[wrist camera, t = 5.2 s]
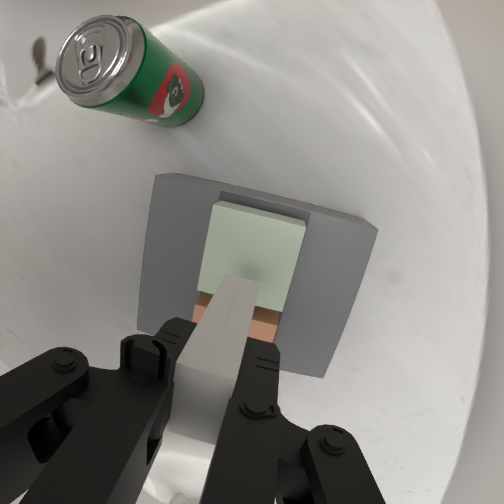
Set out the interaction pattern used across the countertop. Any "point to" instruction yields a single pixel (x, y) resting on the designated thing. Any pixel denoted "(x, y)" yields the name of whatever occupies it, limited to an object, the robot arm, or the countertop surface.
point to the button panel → (304, 277)
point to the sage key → (251, 251)
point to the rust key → (260, 324)
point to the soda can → (127, 73)
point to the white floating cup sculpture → (179, 469)
